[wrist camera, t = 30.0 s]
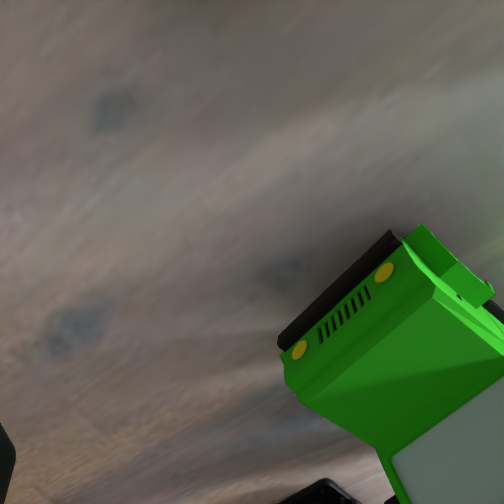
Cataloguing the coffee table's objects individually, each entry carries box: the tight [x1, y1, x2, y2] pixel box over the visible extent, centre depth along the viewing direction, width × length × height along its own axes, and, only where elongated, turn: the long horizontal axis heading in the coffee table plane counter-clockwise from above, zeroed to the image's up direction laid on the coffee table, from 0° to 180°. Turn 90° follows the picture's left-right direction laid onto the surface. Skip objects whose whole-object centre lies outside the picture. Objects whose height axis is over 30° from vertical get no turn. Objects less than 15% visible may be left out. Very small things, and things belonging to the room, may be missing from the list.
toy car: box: [277, 223, 504, 504], centre depth 19 cm, size 8×17×10 cm, turn 50°
